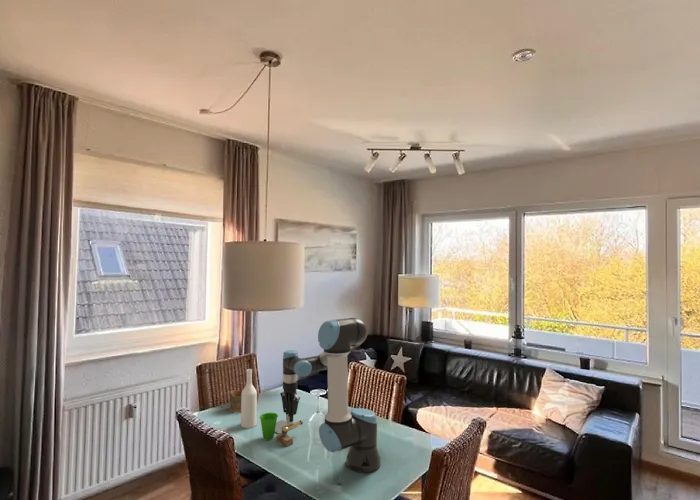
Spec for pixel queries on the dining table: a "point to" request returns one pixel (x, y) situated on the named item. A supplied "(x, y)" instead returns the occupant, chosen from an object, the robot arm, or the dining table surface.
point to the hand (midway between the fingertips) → (289, 427)
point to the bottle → (248, 403)
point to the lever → (291, 426)
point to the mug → (236, 401)
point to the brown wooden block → (284, 439)
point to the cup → (268, 425)
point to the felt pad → (280, 426)
